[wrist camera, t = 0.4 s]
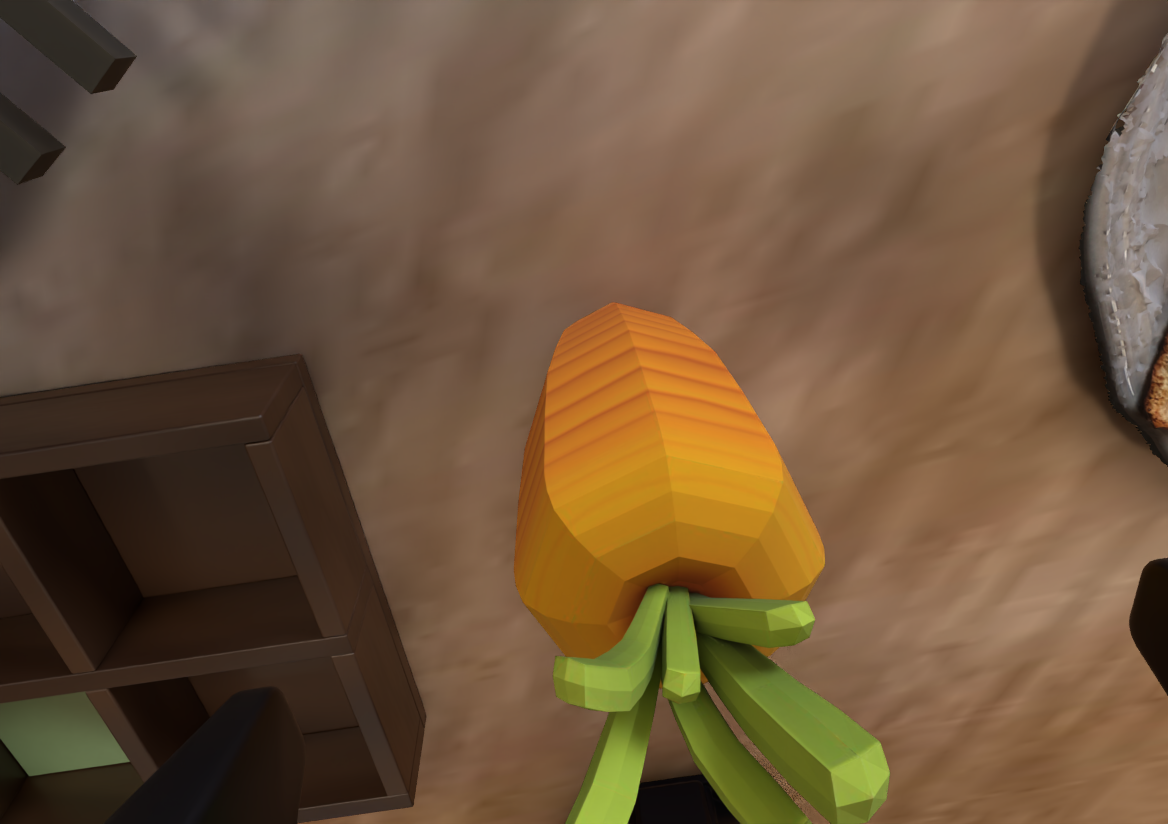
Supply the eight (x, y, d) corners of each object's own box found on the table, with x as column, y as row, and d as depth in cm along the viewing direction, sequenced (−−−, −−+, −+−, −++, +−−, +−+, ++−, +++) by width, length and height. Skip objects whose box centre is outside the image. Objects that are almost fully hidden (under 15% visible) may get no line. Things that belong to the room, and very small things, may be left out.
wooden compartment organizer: (426, 716, 28) (413, 807, 25) (-157, 799, 28) (-244, 900, 25) (302, 352, 21) (261, 415, 18) (-481, 467, 21) (-660, 549, 18)
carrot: (533, 412, 22) (536, 1017, 9) (507, 246, 20) (459, 738, 7) (701, 391, 22) (953, 964, 9) (695, 223, 20) (1027, 666, 7)
